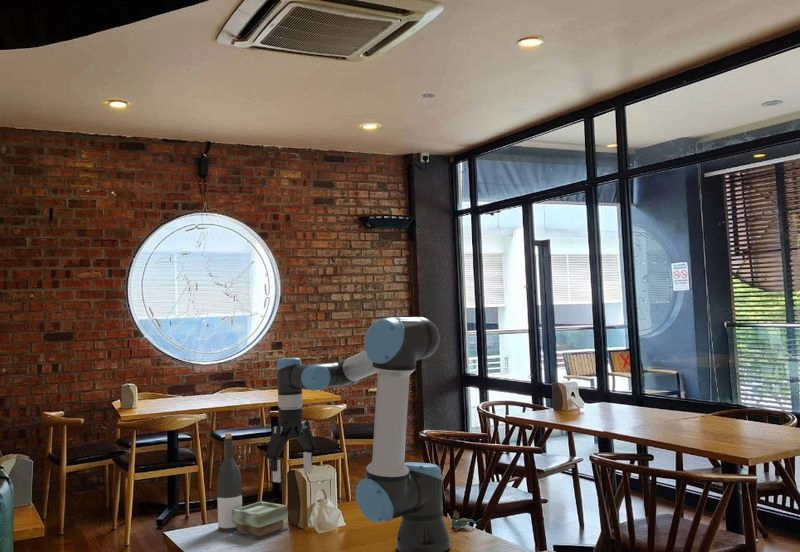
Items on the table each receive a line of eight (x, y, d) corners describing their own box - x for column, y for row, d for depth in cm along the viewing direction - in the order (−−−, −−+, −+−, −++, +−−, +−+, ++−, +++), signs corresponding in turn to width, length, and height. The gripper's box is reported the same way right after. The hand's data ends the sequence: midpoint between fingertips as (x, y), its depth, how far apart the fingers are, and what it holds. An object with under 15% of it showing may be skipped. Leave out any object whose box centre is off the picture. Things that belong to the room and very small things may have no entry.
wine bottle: (213, 533, 229) (210, 435, 231) (223, 525, 237) (221, 431, 238) (237, 533, 227) (235, 435, 229) (247, 526, 235) (245, 431, 237)
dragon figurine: (472, 515, 230) (448, 514, 227) (481, 508, 224) (457, 506, 222) (474, 537, 226) (450, 535, 224) (483, 530, 220) (459, 528, 218)
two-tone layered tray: (288, 529, 229) (287, 505, 230) (259, 539, 219) (258, 514, 220) (261, 524, 236) (260, 501, 237) (232, 534, 226) (231, 509, 227)
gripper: (309, 403, 240) (311, 468, 239) (251, 412, 220) (254, 484, 219) (326, 403, 236) (328, 470, 235) (269, 413, 216) (271, 487, 214)
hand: (292, 477), depth 227 cm, fingers open, 13 cm apart
